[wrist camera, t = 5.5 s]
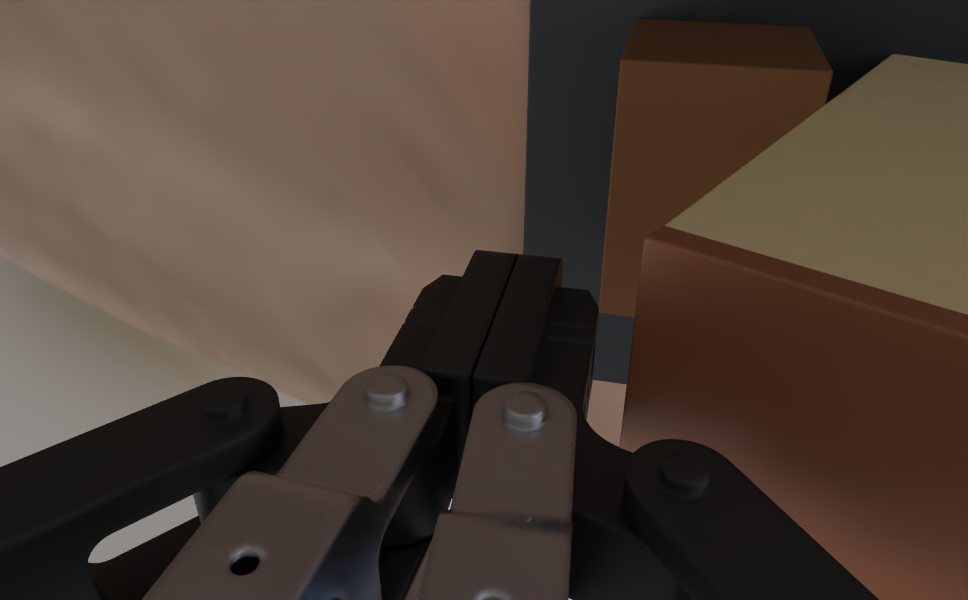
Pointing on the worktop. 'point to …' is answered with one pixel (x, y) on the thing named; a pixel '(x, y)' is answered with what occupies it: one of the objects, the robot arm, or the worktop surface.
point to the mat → (593, 101)
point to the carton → (830, 328)
